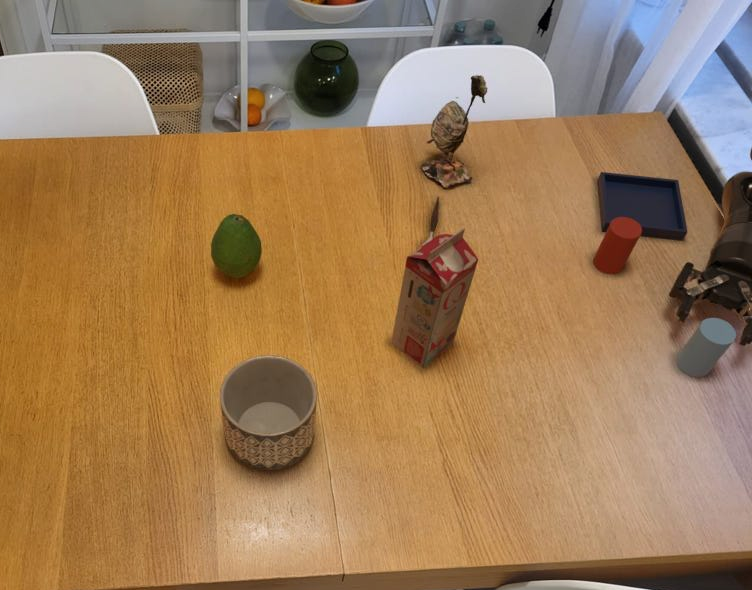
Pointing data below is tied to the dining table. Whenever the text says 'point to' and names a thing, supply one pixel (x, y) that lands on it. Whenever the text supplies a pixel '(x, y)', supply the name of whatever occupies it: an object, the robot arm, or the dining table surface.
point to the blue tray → (643, 204)
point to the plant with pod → (452, 138)
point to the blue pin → (705, 347)
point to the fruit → (236, 247)
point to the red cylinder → (617, 245)
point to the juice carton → (433, 297)
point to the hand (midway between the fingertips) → (713, 330)
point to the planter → (268, 411)
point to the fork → (433, 221)
